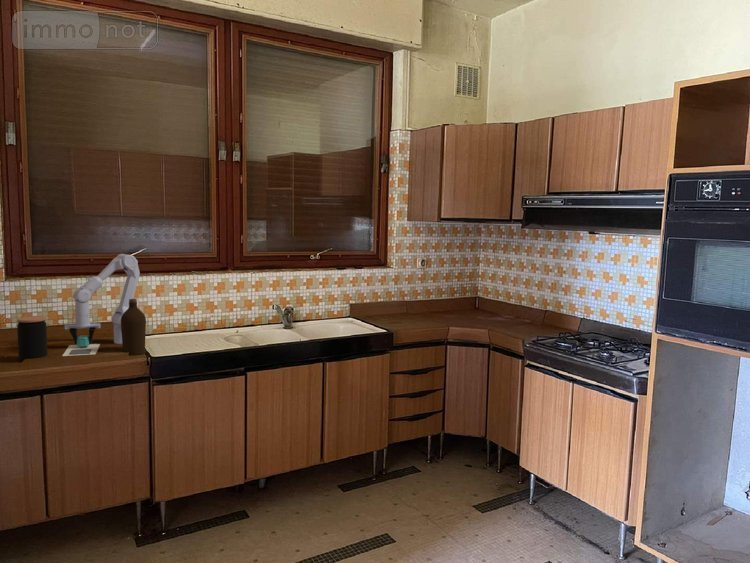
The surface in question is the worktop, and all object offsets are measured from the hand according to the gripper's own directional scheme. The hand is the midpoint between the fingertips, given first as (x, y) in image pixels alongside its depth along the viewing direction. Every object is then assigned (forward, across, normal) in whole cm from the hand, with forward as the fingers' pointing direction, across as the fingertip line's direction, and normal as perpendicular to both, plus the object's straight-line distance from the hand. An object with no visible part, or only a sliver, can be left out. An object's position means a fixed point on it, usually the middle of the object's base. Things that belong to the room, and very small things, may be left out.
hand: (83, 344), depth 258 cm
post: (+2, 0, 0) cm, 2 cm away
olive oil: (+3, -22, +11) cm, 25 cm away
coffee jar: (+3, +18, +12) cm, 22 cm away
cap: (0, 0, 0) cm, 0 cm away
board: (+3, 0, +5) cm, 6 cm away
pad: (+2, 0, +10) cm, 10 cm away
